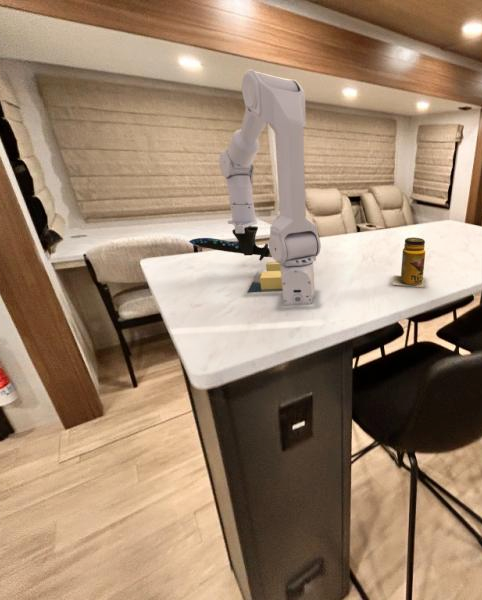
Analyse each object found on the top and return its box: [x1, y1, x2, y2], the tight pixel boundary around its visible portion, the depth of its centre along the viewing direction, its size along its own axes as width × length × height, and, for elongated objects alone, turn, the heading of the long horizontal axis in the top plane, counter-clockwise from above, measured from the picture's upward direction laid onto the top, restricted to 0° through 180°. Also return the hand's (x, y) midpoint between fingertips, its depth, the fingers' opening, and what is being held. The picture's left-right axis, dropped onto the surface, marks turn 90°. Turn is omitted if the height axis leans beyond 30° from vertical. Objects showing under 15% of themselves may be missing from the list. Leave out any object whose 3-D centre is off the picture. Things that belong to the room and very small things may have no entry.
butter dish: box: [246, 272, 283, 294], centre depth 80 cm, size 14×12×1 cm
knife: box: [188, 237, 272, 262], centre depth 86 cm, size 31×3×4 cm, turn 97°
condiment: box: [392, 237, 426, 288], centre depth 83 cm, size 7×8×12 cm
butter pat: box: [265, 261, 281, 271], centre depth 85 cm, size 2×6×3 cm, turn 102°
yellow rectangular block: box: [260, 270, 282, 290], centre depth 76 cm, size 5×6×3 cm
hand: (249, 254), depth 86 cm, fingers closed on knife
